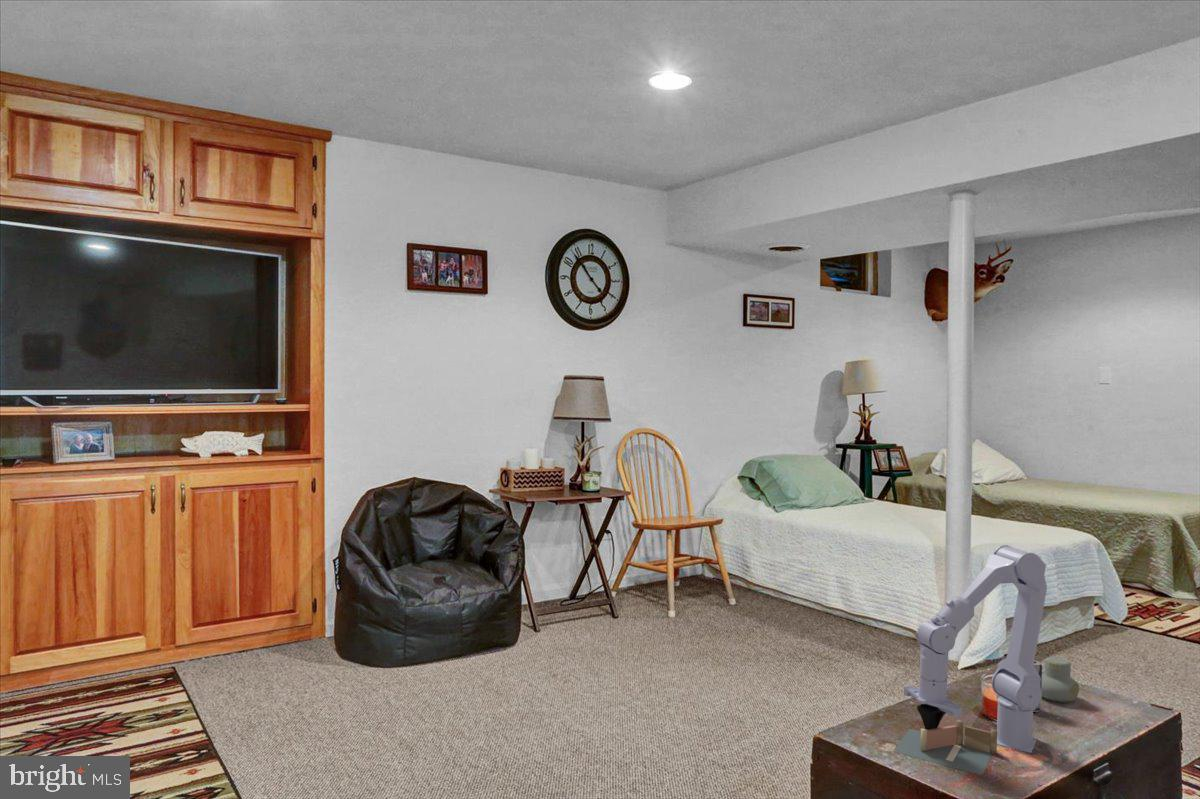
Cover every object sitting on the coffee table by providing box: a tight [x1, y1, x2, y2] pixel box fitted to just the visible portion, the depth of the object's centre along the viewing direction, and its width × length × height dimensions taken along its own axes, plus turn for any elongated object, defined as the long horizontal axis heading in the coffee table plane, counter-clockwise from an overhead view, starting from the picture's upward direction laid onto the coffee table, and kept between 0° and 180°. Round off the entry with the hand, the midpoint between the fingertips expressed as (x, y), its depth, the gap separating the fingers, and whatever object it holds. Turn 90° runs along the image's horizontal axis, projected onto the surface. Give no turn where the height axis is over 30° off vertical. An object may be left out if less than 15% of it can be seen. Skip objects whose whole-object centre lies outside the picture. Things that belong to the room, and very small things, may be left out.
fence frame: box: [955, 719, 998, 755], centre depth 186 cm, size 2×8×5 cm, turn 57°
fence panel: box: [920, 724, 957, 751], centre depth 186 cm, size 10×1×4 cm, turn 113°
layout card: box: [892, 728, 993, 776], centre depth 185 cm, size 15×18×1 cm
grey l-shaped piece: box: [1041, 656, 1080, 703], centre depth 219 cm, size 11×8×10 cm
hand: (930, 738), depth 187 cm, fingers closed
